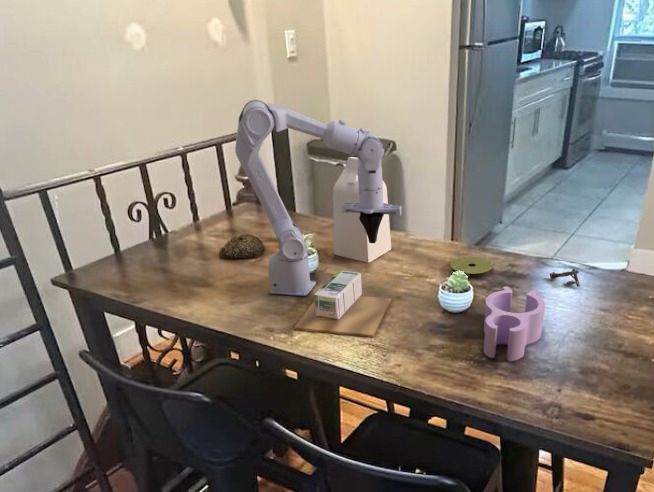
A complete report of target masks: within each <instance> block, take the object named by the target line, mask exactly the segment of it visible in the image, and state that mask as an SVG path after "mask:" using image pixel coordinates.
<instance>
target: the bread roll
mask: <svg viewBox="0 0 654 492" xmlns="http://www.w3.org/2000/svg"><path fill="white" fill-rule="evenodd" d="M264 250H265V245H264V242H263V241H262V240H261V239H260V238H259V237H258V236H256V235H254V234H249V233H246V234H244V233H241V234H240V235H239V236H237V235H236V236H233V237H232V238H231V239H230V240H228V241H227V242H226V243H225V244H224V246H221V248H220V250H219V252H218V256H220V258H225V259H249V258H257V257H259V256H261V255H262V254H264Z"/></svg>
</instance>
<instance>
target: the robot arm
mask: <svg viewBox="0 0 654 492" xmlns="http://www.w3.org/2000/svg"><path fill="white" fill-rule="evenodd" d="M273 129H275V133H278V132H282V131H284V130H287V129H290V130H294V131H297V132H299V133H302V134H307V135H309V136H312V137H316V138H319V139H322V140H323V142H324V144H325V146H326V147H327V148H330V149H332V150H335V151H339V152H340V153H344V154H347V155H350V156H357V158H358V186H359V202H358V203H343V204H342V205H341V206H342V213H347V212H351V213H360V217H359V219H360V221H361V223H362V225H363V226H364V228H365V230H366V233H367V236H368V239H369V243H375V242H376V241H377V233H378V229H379V226H380V223H381V220H382V218H383V216H384V214H388V215H389V216H390V215H391V216H392V215H393V216H396V217H401V215H402V214H403V213H402V212H403V211H402V210H403V207H402V205H396V204H391V203H388V204H386V203H383V182H382V180H383V167H382V158H383V157H384V154H385V148H384V146H383V143H382V141H381V140H380V139H379V138H378V137H377V136H376V134H374V133H372V132H370V131H369V130H366V129H364V128H360V129H358V128H356V127H352V126H350V125H347V124H346V121H344V120H342V119H339V120H338V121H337V120H332V121H330V122H328V123H325V122H322V121H319V120H317V119H314V118H312V117H310V116H307V115H305V114H302V113H300V112H298V111H295V110H292V109H290V108H287V107H285V106H281V105H278V104H275V103H272V102H267V103H266V102H265V101H262V100H260V99H251V100H249V101H247V102H246V103H245V104H244V106H243V107H242V109H241V112H240V114H239V116H238V122H237V130H236V139H235V148H234V149H235V150H234V151H235V152H234V153H235V155H236V157H237V159H238V161H239V163H240V165H241V167H242V169H243V171H244V173H245V175H246V177H247V179H248V181H249V183H250V185H251V187H252V189H253V191H254V193H255V195H256V197H257V199H258V200H259V203H260V204H261V205H260V206H261V207H262V208H263V210H264V213H265V215H266V216H267V219H268V220H269V223H270V224H271V227H272V229H273V232H274V234H275V238H276V240H277V242H278V252H277V253H273V254H271V255H270V257H269V260H268V266H267V267H268V277H269V284H270V294H273V295H275V294H276V295H283V296H284V295H287V296H297V297H307V296H308V294H310V292H311V291H312V289H313V288H314V287H315V286H316V284H317V281H314V280H311V275H310V265H309V255H308V251H307V245H306V242H305V240H304V236H303V235H304V234H303V231H302V229H301V227H299V226H298V225H297V224H296V223H295V222H294V221H293V219H292V218H291V216H290V214H289V212H288V210H287V208H286V206H285V204H284V201H283V200H282V198H281V196H280V194H279V191H278V190H277V188H276V186H275V183H274V181H273V180H272V177H271V176H270V172H269V171H268V169H267V167H266V165H265V162H264V161H263V159H262V156H261V155H260V151H261V147H262V145H263V143H264V141H265V140H266V139H267V138H268V136H270V134H271V133H272V131H273Z"/></svg>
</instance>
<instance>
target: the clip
mask: <svg viewBox="0 0 654 492" xmlns="http://www.w3.org/2000/svg"><path fill="white" fill-rule="evenodd" d="M525 297H526V298H525V306H524V312H511V311H512V301H513V300H512V299H513V289H512V288H511V287H509V286H508V285H507V286H503V287H502V290H497V291H494V292H492V293H491V294H488V295H487V296H486V298H485V307H484V319H483V321H484V322H483V333H484V340H483V353H484V354H485V356H487V357H488V358H490V359H494V358H495V357H496V352H497V345H498V346H499V345H507V352H506V361H508V362H515V361H518V360H520V359H522V358H523V357H524V355H525V350H526V349H525V348H526V346H527V345H529V344H533V343H536V342H537V341H538V340H540V338H541V337H542V332H543V331H542V330H543V324H544V317H545V310H546V302H545V300H544V298H542V297H541V296H540V291H539V290H535V289H534V290H532V291H528V292H527V293H526V296H525Z"/></svg>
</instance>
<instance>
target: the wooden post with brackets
mask: <svg viewBox="0 0 654 492" xmlns="http://www.w3.org/2000/svg"><path fill="white" fill-rule="evenodd" d="M578 274H580V270H578V269H576V268H572V269H571V271H568V270H567V271H563V272H555V271H552V272H550V273H549V278H550V281H554V280H556V279H557V278H561V277H562V278H565V277H568V276H571V277H572V280H568V281H567V282H566V283H565V284H566V285H567V286H574V285H576V288H578V287H580V286H581V285H580V280H579V278H578ZM573 279H574V280H573Z"/></svg>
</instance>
